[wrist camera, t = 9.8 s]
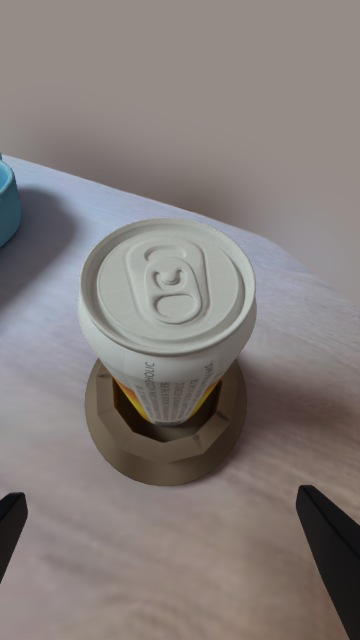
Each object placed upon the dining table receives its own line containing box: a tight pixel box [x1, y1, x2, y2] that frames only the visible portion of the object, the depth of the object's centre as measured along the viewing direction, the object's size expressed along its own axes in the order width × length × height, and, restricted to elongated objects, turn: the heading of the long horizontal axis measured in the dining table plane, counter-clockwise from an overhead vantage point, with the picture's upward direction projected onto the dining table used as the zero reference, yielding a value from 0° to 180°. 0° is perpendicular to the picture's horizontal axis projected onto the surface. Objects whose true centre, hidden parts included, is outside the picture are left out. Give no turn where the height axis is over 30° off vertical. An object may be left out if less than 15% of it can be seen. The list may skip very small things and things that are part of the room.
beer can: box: [78, 217, 257, 427], centre depth 13 cm, size 6×6×15 cm
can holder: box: [85, 358, 247, 486], centre depth 19 cm, size 14×14×4 cm
